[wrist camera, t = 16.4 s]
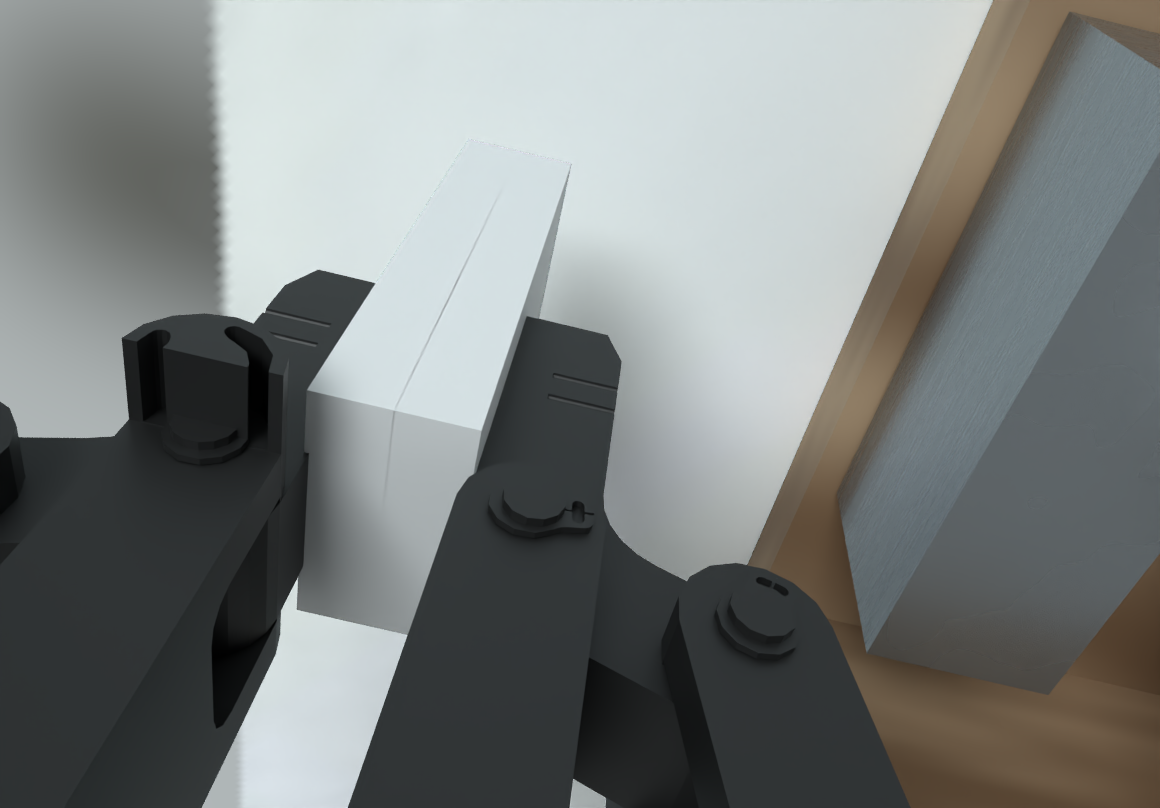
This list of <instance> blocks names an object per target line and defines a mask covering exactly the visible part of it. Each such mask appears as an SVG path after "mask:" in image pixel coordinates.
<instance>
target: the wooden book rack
mask: <svg viewBox="0 0 1160 808" xmlns="http://www.w3.org/2000/svg"><path fill="white" fill-rule="evenodd" d="M1069 11H1070V12H1074V13H1078V14H1082V15H1086V16H1090V17H1094V18H1098V19H1102V20H1106V21H1110V22H1114V23H1118V24H1122V25H1126V26H1130V27H1134V28H1138V29H1142V30H1146V31H1150V32H1154V33H1158V34H1160V0H994V1H993V3H992V5H991V7H990V10H989V12H988V14H987V17H986V19H985V21H984V24H983V26H982V28H981V30H980V33H979V35H978V37H977V40H976V42H975V44H974V46H973V49H972V51H971V53H970V56H969V58H968V60H967V63H966V65H965V67H964V69H963V72H962V74H961V76H960V79H959V81H958V83H957V85H956V88H955V90H954V92H953V95H952V97H951V99H950V102H949V104H948V106H947V108H946V111H945V113H944V115H943V118H942V120H941V122H940V125H939V127H938V129H937V131H936V134H935V136H934V138H933V141H932V143H931V145H930V147H929V150H928V152H927V154H926V157H925V159H924V161H923V164H922V166H921V168H920V170H919V173H918V175H917V177H916V180H915V182H914V184H913V186H912V189H911V191H910V193H909V196H908V198H907V200H906V203H905V205H904V207H903V209H902V212H901V214H900V216H899V219H898V221H897V223H896V225H895V228H894V230H893V232H892V235H891V237H890V239H889V242H888V244H887V246H886V248H885V251H884V253H883V255H882V258H881V260H880V262H879V264H878V267H877V269H876V271H875V274H874V276H873V278H872V281H871V283H870V285H869V287H868V290H867V292H866V294H865V297H864V299H863V301H862V304H861V306H860V308H859V310H858V313H857V315H856V317H855V320H854V322H853V324H852V326H851V329H850V331H849V333H848V336H847V338H846V340H845V343H844V345H843V347H842V349H841V352H840V354H839V356H838V359H837V361H836V363H835V365H834V368H833V370H832V372H831V375H830V377H829V379H828V382H827V384H826V386H825V388H824V391H823V393H822V395H821V398H820V400H819V402H818V404H817V407H816V409H815V411H814V414H813V416H812V418H811V421H810V423H809V425H808V427H807V430H806V432H805V434H804V437H803V439H802V441H801V443H800V446H799V448H798V450H797V453H796V455H795V457H794V460H793V462H792V464H791V466H790V469H789V471H788V473H787V476H786V478H785V480H784V483H783V485H782V487H781V489H780V492H779V494H778V496H777V499H776V501H775V503H774V505H773V508H772V510H771V512H770V515H769V517H768V519H767V522H766V524H765V526H764V528H763V531H762V533H761V535H760V538H759V540H758V542H757V544H756V547H755V549H754V551H753V554H752V556H751V558H750V561H749V563H748V566H753V567H758V568H763V569H766V570H768V571H770V572H772V573H774V574H776V575H778V576H780V577H782V578H784V579H787V580H789V581H791V582H793V583H794V584H795V585H796V586H798V587H799V588H800V589H801V590H802V591H803V592H805V593H806V594H807V595H808V596H809V597H811V598H812V599H813V600H814V601H815V602H816V603H817V604H818V606H819V607H820V609H821V610H822V612H823V613H824V615H825V616H826V618H827V619H828V621H829V622H830V624H831V625H832V627H833V630H834V632H835V634H836V636H837V639H838V641H839V643H840V646H841V648H842V650H843V653H844V655H845V657H846V660H847V662H848V664H849V666H850V669H851V671H852V673H853V676H854V678H855V680H856V683H857V685H858V687H859V690H860V692H861V694H862V696H863V699H864V701H865V703H866V706H867V708H868V710H869V713H870V715H871V717H872V720H873V722H874V724H875V726H876V729H877V731H878V733H879V736H880V738H881V740H882V743H883V745H884V747H885V750H886V752H887V754H888V756H889V759H890V761H891V763H892V766H893V768H894V770H895V773H896V775H897V777H898V780H899V782H900V784H901V786H902V789H903V791H904V793H905V796H906V798H907V800H908V803H909V805H910V807H911V808H1160V554H1159V555H1158V556H1157V558H1156V559H1155V560H1154V562H1153V563H1152V564H1151V565H1150V567H1149V568H1148V569H1147V570H1146V572H1145V573H1144V574H1143V575H1142V577H1141V578H1140V579H1139V581H1138V582H1137V583H1136V584H1135V586H1134V587H1133V588H1132V589H1131V591H1130V592H1129V593H1128V595H1127V596H1126V597H1125V598H1124V600H1123V601H1122V602H1121V603H1120V605H1119V606H1118V607H1117V609H1116V610H1115V611H1114V612H1113V614H1112V615H1111V616H1110V617H1109V619H1108V620H1107V621H1106V623H1105V624H1104V625H1103V626H1102V628H1101V629H1100V630H1099V631H1098V633H1097V634H1096V635H1095V637H1094V638H1093V639H1092V640H1091V642H1090V643H1089V644H1088V645H1087V647H1086V648H1085V649H1084V650H1083V652H1082V653H1081V654H1080V656H1079V657H1078V658H1077V659H1076V661H1075V662H1074V663H1073V664H1072V666H1071V667H1070V668H1069V670H1068V671H1067V672H1066V673H1065V675H1064V676H1063V677H1062V678H1061V680H1060V681H1059V682H1058V684H1057V685H1056V686H1055V687H1054V689H1053V690H1052V691H1051V692H1050V694H1049V695H1045V694H1041V693H1037V692H1032V691H1028V690H1024V689H1019V688H1015V687H1011V686H1006V685H1002V684H997V683H993V682H989V681H984V680H980V679H976V678H971V677H967V676H963V675H958V674H954V673H950V672H945V671H941V670H937V669H932V668H928V667H924V666H919V665H915V664H910V663H906V662H902V661H897V660H893V659H889V658H884V657H880V656H876V655H871V654H867V653H866V647H865V642H864V637H863V631H862V626H861V621H860V615H859V610H858V605H857V599H856V594H855V589H854V583H853V578H852V573H851V567H850V562H849V557H848V551H847V546H846V541H845V535H844V530H843V525H842V519H841V514H840V509H839V503H838V498H837V491H838V489H839V487H840V485H841V483H842V481H843V479H844V477H845V475H846V473H847V470H848V468H849V466H850V464H851V462H852V460H853V458H854V456H855V454H856V452H857V450H858V448H859V446H860V444H861V442H862V439H863V437H864V435H865V433H866V431H867V429H868V427H869V425H870V423H871V421H872V419H873V417H874V415H875V413H876V410H877V408H878V406H879V404H880V402H881V400H882V398H883V396H884V394H885V392H886V390H887V388H888V386H889V384H890V381H891V379H892V377H893V375H894V373H895V371H896V369H897V367H898V365H899V363H900V361H901V359H902V357H903V355H904V352H905V350H906V348H907V346H908V344H909V342H910V340H911V338H912V336H913V334H914V332H915V330H916V328H917V326H918V323H919V321H920V319H921V317H922V315H923V313H924V311H925V309H926V307H927V305H928V303H929V301H930V299H931V297H932V295H933V292H934V290H935V288H936V286H937V284H938V282H939V280H940V278H941V276H942V274H943V272H944V270H945V268H946V266H947V263H948V261H949V259H950V257H951V255H952V253H953V251H954V249H955V247H956V245H957V243H958V241H959V239H960V237H961V234H962V232H963V230H964V228H965V226H966V224H967V222H968V220H969V218H970V216H971V214H972V212H973V210H974V208H975V205H976V203H977V201H978V199H979V197H980V195H981V193H982V191H983V189H984V187H985V185H986V183H987V181H988V179H989V176H990V174H991V172H992V170H993V168H994V166H995V164H996V162H997V160H998V158H999V156H1000V154H1001V152H1002V150H1003V148H1004V145H1005V143H1006V141H1007V139H1008V137H1009V135H1010V133H1011V131H1012V129H1013V127H1014V125H1015V123H1016V121H1017V119H1018V116H1019V114H1020V112H1021V110H1022V108H1023V106H1024V104H1025V102H1026V100H1027V98H1028V96H1029V94H1030V92H1031V90H1032V87H1033V85H1034V83H1035V81H1036V79H1037V77H1038V75H1039V73H1040V71H1041V69H1042V67H1043V65H1044V63H1045V61H1046V58H1047V56H1048V54H1049V52H1050V50H1051V48H1052V46H1053V44H1054V42H1055V40H1056V38H1057V36H1058V34H1059V32H1060V29H1061V27H1062V25H1063V23H1064V21H1065V19H1066V17H1067V15H1068V13H1069Z"/></svg>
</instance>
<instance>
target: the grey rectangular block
mask: <svg viewBox="0 0 1160 808" xmlns="http://www.w3.org/2000/svg"><path fill="white" fill-rule="evenodd" d="M837 498H838V503H839V509H840V514H841V519H842V525H843V530H844V535H845V541H846V546H847V551H848V557H849V562H850V567H851V573H852V578H853V583H854V589H855V594H856V599H857V605H858V610H859V615H860V621H861V626H862V631H863V637H864V642H865V647H866V653H867V654H871V655H876V656H880V657H884V658H889V659H893V660H897V661H902V662H906V663H910V664H915V665H919V666H924V667H928V668H932V669H937V670H941V671H945V672H950V673H954V674H958V675H963V676H967V677H971V678H976V679H980V680H984V681H989V682H993V683H997V684H1002V685H1006V686H1011V687H1015V688H1019V689H1024V690H1028V691H1032V692H1037V693H1041V694H1045V695H1049V694H1050V692H1051V691H1052V690H1053V689H1054V687H1055V686H1056V685H1057V684H1058V682H1059V681H1060V680H1061V678H1062V677H1063V676H1064V675H1065V673H1066V672H1067V671H1068V670H1069V668H1070V667H1071V666H1072V664H1073V663H1074V662H1075V661H1076V659H1077V658H1078V657H1079V656H1080V654H1081V653H1082V652H1083V650H1084V649H1085V648H1086V647H1087V645H1088V644H1089V643H1090V642H1091V640H1092V639H1093V638H1094V637H1095V635H1096V634H1097V633H1098V631H1099V630H1100V629H1101V628H1102V626H1103V625H1104V624H1105V623H1106V621H1107V620H1108V619H1109V617H1110V616H1111V615H1112V614H1113V612H1114V611H1115V610H1116V609H1117V607H1118V606H1119V605H1120V603H1121V602H1122V601H1123V600H1124V598H1125V597H1126V596H1127V595H1128V593H1129V592H1130V591H1131V589H1132V588H1133V587H1134V586H1135V584H1136V583H1137V582H1138V581H1139V579H1140V578H1141V577H1142V575H1143V574H1144V573H1145V572H1146V570H1147V569H1148V568H1149V567H1150V565H1151V564H1152V563H1153V562H1154V560H1155V559H1156V558H1157V556H1158V555H1159V554H1160V34H1158V33H1154V32H1150V31H1146V30H1142V29H1138V28H1134V27H1130V26H1126V25H1122V24H1118V23H1114V22H1110V21H1106V20H1102V19H1098V18H1094V17H1090V16H1086V15H1082V14H1078V13H1074V12H1070V11H1069V13H1068V15H1067V17H1066V19H1065V21H1064V23H1063V25H1062V27H1061V29H1060V32H1059V34H1058V36H1057V38H1056V40H1055V42H1054V44H1053V46H1052V48H1051V50H1050V52H1049V54H1048V56H1047V58H1046V61H1045V63H1044V65H1043V67H1042V69H1041V71H1040V73H1039V75H1038V77H1037V79H1036V81H1035V83H1034V85H1033V87H1032V90H1031V92H1030V94H1029V96H1028V98H1027V100H1026V102H1025V104H1024V106H1023V108H1022V110H1021V112H1020V114H1019V116H1018V119H1017V121H1016V123H1015V125H1014V127H1013V129H1012V131H1011V133H1010V135H1009V137H1008V139H1007V141H1006V143H1005V145H1004V148H1003V150H1002V152H1001V154H1000V156H999V158H998V160H997V162H996V164H995V166H994V168H993V170H992V172H991V174H990V176H989V179H988V181H987V183H986V185H985V187H984V189H983V191H982V193H981V195H980V197H979V199H978V201H977V203H976V205H975V208H974V210H973V212H972V214H971V216H970V218H969V220H968V222H967V224H966V226H965V228H964V230H963V232H962V234H961V237H960V239H959V241H958V243H957V245H956V247H955V249H954V251H953V253H952V255H951V257H950V259H949V261H948V263H947V266H946V268H945V270H944V272H943V274H942V276H941V278H940V280H939V282H938V284H937V286H936V288H935V290H934V292H933V295H932V297H931V299H930V301H929V303H928V305H927V307H926V309H925V311H924V313H923V315H922V317H921V319H920V321H919V323H918V326H917V328H916V330H915V332H914V334H913V336H912V338H911V340H910V342H909V344H908V346H907V348H906V350H905V352H904V355H903V357H902V359H901V361H900V363H899V365H898V367H897V369H896V371H895V373H894V375H893V377H892V379H891V381H890V384H889V386H888V388H887V390H886V392H885V394H884V396H883V398H882V400H881V402H880V404H879V406H878V408H877V410H876V413H875V415H874V417H873V419H872V421H871V423H870V425H869V427H868V429H867V431H866V433H865V435H864V437H863V439H862V442H861V444H860V446H859V448H858V450H857V452H856V454H855V456H854V458H853V460H852V462H851V464H850V466H849V468H848V470H847V473H846V475H845V477H844V479H843V481H842V483H841V485H840V487H839V489H838V491H837Z"/></svg>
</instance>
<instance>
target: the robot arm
mask: <svg viewBox="0 0 1160 808" xmlns="http://www.w3.org/2000/svg"><path fill="white" fill-rule="evenodd" d="M570 168H571V163H567V162H563V161H558V160H554V159H550V158H546V157H542V156H538V155H534V154H530V153H525V152H521V151H517V150H513V149H509V148H505V147H501V146H496V145H492V144H488V143H484V142H480V141H476V140H472V139H468V141H467V142H466V144H465V145H464V147H463V149H462V150H461V152H460V153H459V155H458V156H457V158H456V159H455V161H454V162H453V164H452V166H451V167H450V169H449V170H448V172H447V173H446V175H445V176H444V178H443V180H442V181H441V183H440V184H439V186H438V187H437V189H436V190H435V192H434V194H433V195H432V197H431V198H430V200H429V201H428V203H427V204H426V206H425V208H424V209H423V211H422V212H421V214H420V215H419V217H418V218H417V220H416V221H415V223H414V225H413V226H412V228H411V229H410V231H409V232H408V234H407V235H406V237H405V239H404V240H403V242H402V243H401V245H400V246H399V248H398V249H397V251H396V253H395V254H394V256H393V257H392V259H391V260H390V262H389V263H388V265H387V266H386V268H385V270H384V271H383V273H382V274H381V276H380V277H379V279H378V280H377V282H376V283H372V282H368V281H364V280H359V279H355V278H351V277H347V276H343V275H338V274H334V273H330V272H326V271H321V270H317V271H315V272H312V273H310V274H308V275H306V276H304V277H302V278H300V279H298V280H295V281H293V282H291V283H289V284H287V285H285V286H284V287H283V288H282V290H281V291H280V292H279V293H278V295H277V296H276V297H275V298H274V299H273V301H272V302H271V303H270V304H269V305H268V307H267V308H266V312H265V313H262V314H261V315H260V316H259V318H258V319H257V320H256V321H255V323H254V324H253V323H250V322H247V321H245V320H242V319H239V318H236V317H228V316H220V315H212V314H192V315H178V316H171V317H167V318H164V319H160V320H157V321H153V322H150V323H146V324H143V325H142V326H140V327H138V328H137V329H135V330H134V331H132V332H131V333H129V334H128V335H126V336H124V337H123V338H122V345H123V357H124V368H125V379H126V390H127V401H128V412H129V420H128V421H127V422H126V424H125V425H124V426H123V427H122V428H121V429H120V430H119V431H118V433H117V434H116V435H115V436H113V437H98V438H22V437H18V433H17V427H16V424H15V421H14V419H13V416H12V413H11V411H10V408H9V407H7V406H5V405H4V404H3V403H1V402H0V808H202V805H203V804H204V802H205V799H206V797H207V795H208V793H209V791H210V789H211V787H212V785H213V783H214V781H215V778H216V777H217V774H218V772H219V770H220V768H221V766H222V764H223V762H224V760H225V758H226V756H227V754H228V752H229V750H230V748H231V746H232V743H233V741H234V739H235V737H236V735H237V733H238V731H239V729H240V727H241V725H242V723H243V721H244V719H245V717H246V714H247V712H248V710H249V708H250V706H251V704H252V702H253V700H254V698H255V696H256V694H257V692H258V690H259V687H260V685H261V683H262V681H263V679H264V677H265V675H266V673H267V671H268V669H269V667H270V665H271V663H272V661H273V658H274V656H275V654H276V650H277V646H278V641H279V637H280V621H281V609H282V607H283V605H284V603H285V601H286V599H287V597H288V595H289V593H290V591H291V589H292V587H293V586H294V584H295V582H296V580H297V578H298V594H297V610H301V611H305V612H309V613H314V614H318V615H323V616H327V617H331V618H336V619H340V620H345V621H349V622H353V623H358V624H362V625H367V626H371V627H376V628H380V629H384V630H389V631H393V632H398V633H402V634H406V635H408V636H407V639H406V642H405V644H404V647H403V650H402V653H401V656H400V659H399V662H398V665H397V668H396V670H395V673H394V676H393V679H392V682H391V685H390V688H389V691H388V694H387V696H386V699H385V702H384V705H383V708H382V711H381V714H380V717H379V720H378V722H377V725H376V728H375V731H374V734H373V737H372V740H371V743H370V746H369V748H368V751H367V754H366V757H365V760H364V763H363V766H362V769H361V772H360V774H359V777H358V780H357V783H356V786H355V789H354V792H353V795H352V797H351V800H350V803H349V806H348V808H569V805H570V798H571V790H572V782H573V779H575V780H577V781H578V782H580V783H582V784H583V785H585V786H587V787H589V788H590V789H592V790H594V791H596V792H597V793H599V794H601V795H602V796H604V797H606V808H911V807H910V805H909V803H908V800H907V798H906V796H905V793H904V791H903V789H902V786H901V784H900V782H899V780H898V777H897V775H896V773H895V770H894V768H893V766H892V763H891V761H890V759H889V756H888V754H887V752H886V750H885V747H884V745H883V743H882V740H881V738H880V736H879V733H878V731H877V729H876V726H875V724H874V722H873V720H872V717H871V715H870V713H869V710H868V708H867V706H866V703H865V701H864V699H863V696H862V694H861V692H860V690H859V687H858V685H857V683H856V680H855V678H854V676H853V673H852V671H851V669H850V666H849V664H848V662H847V660H846V657H845V655H844V653H843V650H842V648H841V646H840V643H839V641H838V639H837V636H836V634H835V632H834V630H833V627H832V625H831V624H830V622H829V621H828V619H827V618H826V616H825V615H824V613H823V612H822V610H821V609H820V607H819V606H818V604H817V603H816V602H815V601H814V600H813V599H812V598H811V597H809V596H808V595H807V594H806V593H805V592H803V591H802V590H801V589H800V588H799V587H798V586H796V585H795V584H794V583H793V582H791V581H789V580H787V579H784V578H782V577H780V576H778V575H776V574H774V573H772V572H770V571H768V570H766V569H763V568H758V567H753V566H748V565H743V564H738V563H733V564H723V565H713V566H709V567H707V568H705V569H703V570H701V571H700V572H698V573H696V574H694V575H692V576H691V577H689V579H688V581H685V580H683V579H681V578H679V577H677V576H675V575H673V574H671V573H669V572H667V571H665V570H663V569H661V568H659V567H657V566H655V565H654V564H652V563H650V562H649V561H647V560H645V559H644V558H642V557H640V556H639V555H637V554H636V553H635V552H634V551H633V550H632V549H630V548H629V547H628V546H627V545H626V544H625V543H624V542H623V541H621V539H620V538H619V537H618V535H617V534H616V533H615V531H614V530H613V528H612V527H611V526H610V524H609V521H608V519H607V516H606V513H605V511H604V500H603V493H604V486H605V479H606V471H607V464H608V457H609V449H610V442H611V435H612V427H613V420H614V411H615V405H616V398H617V389H618V384H619V376H620V369H621V360H620V358H619V356H618V354H617V352H616V350H615V348H614V346H613V345H612V343H611V341H610V339H609V337H608V335H605V334H600V333H596V332H592V331H588V330H583V329H579V328H575V327H571V326H567V325H562V324H558V323H554V322H550V321H545V320H541V319H539V316H540V311H541V306H542V302H543V297H544V292H545V287H546V282H547V278H548V273H549V268H550V263H551V259H552V254H553V249H554V244H555V240H556V235H557V230H558V225H559V220H560V216H561V211H562V206H563V201H564V197H565V192H566V187H567V182H568V178H569V173H570Z"/></svg>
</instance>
